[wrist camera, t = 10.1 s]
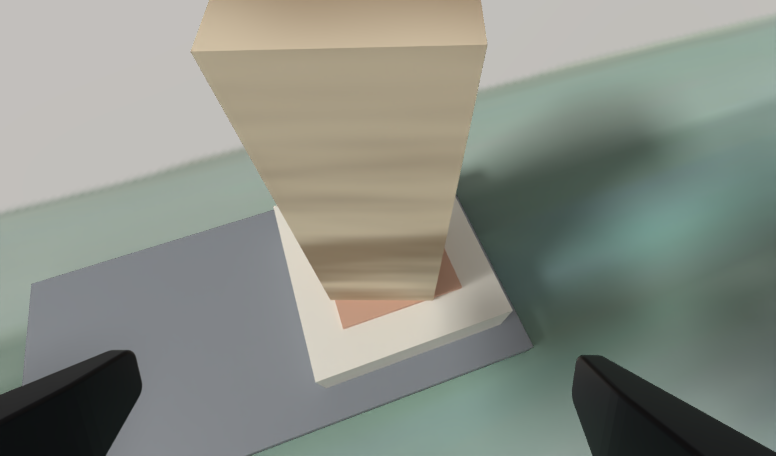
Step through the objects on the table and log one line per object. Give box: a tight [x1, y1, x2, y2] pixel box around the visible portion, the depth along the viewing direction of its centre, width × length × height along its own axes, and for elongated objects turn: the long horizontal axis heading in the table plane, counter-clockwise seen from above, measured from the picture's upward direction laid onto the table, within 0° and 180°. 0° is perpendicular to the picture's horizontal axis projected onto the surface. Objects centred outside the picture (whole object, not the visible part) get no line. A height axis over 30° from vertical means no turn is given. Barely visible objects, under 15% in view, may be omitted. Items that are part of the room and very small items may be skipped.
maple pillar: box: [191, 0, 487, 301], centre depth 13 cm, size 5×5×13 cm
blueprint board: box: [22, 195, 533, 456], centre depth 20 cm, size 24×12×4 cm, turn 109°
